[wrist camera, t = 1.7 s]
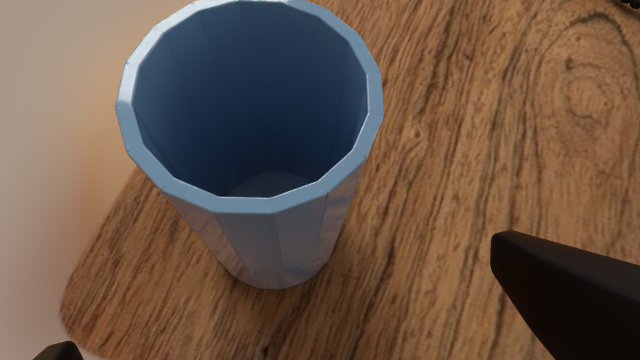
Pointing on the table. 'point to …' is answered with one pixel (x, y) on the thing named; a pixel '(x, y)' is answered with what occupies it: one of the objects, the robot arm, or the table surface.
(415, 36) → the table surface
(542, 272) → the robot arm
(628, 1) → the bracelet
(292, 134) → the blue hollow cylinder
